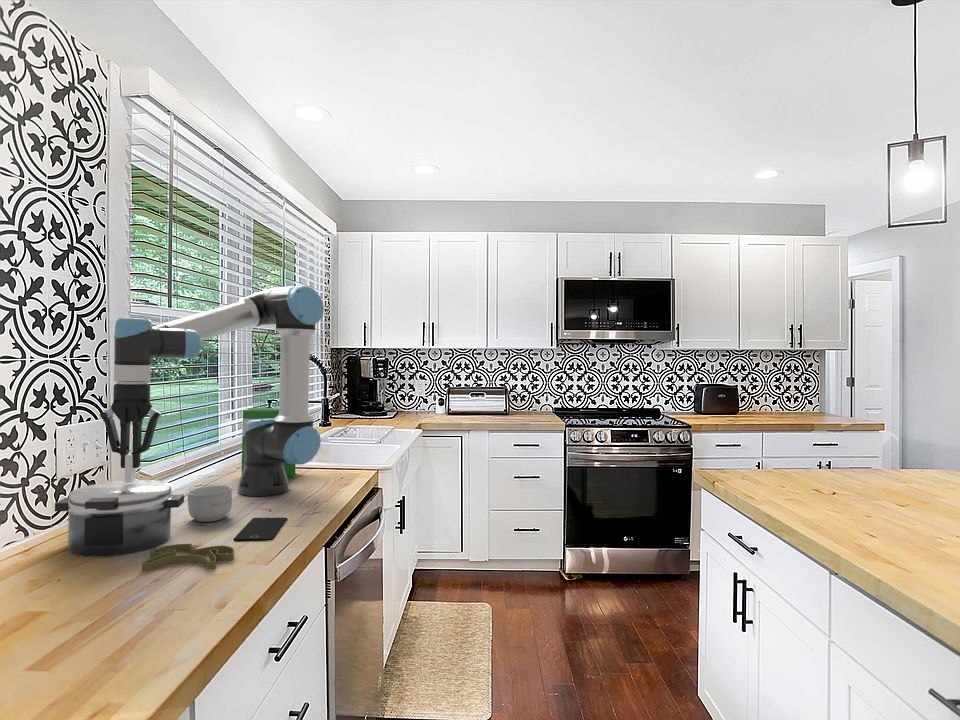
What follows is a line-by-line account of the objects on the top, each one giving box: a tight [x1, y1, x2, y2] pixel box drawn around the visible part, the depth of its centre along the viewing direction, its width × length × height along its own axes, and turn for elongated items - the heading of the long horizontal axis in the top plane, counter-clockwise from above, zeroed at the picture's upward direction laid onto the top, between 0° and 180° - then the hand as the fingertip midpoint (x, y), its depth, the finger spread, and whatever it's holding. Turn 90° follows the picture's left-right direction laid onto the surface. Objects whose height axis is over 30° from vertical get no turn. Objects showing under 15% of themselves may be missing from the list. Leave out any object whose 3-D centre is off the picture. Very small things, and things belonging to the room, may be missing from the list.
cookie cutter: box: [141, 543, 235, 572], centre depth 123 cm, size 18×12×2 cm, turn 97°
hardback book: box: [240, 407, 297, 478], centre depth 207 cm, size 18×7×24 cm, turn 106°
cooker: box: [54, 490, 185, 557], centre depth 134 cm, size 25×22×11 cm
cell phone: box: [233, 516, 288, 542], centre depth 145 cm, size 9×18×1 cm, turn 7°
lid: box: [68, 479, 172, 509], centre depth 132 cm, size 20×23×2 cm
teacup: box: [186, 483, 233, 523], centre depth 154 cm, size 14×11×8 cm
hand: (130, 481), depth 138 cm, fingers closed
